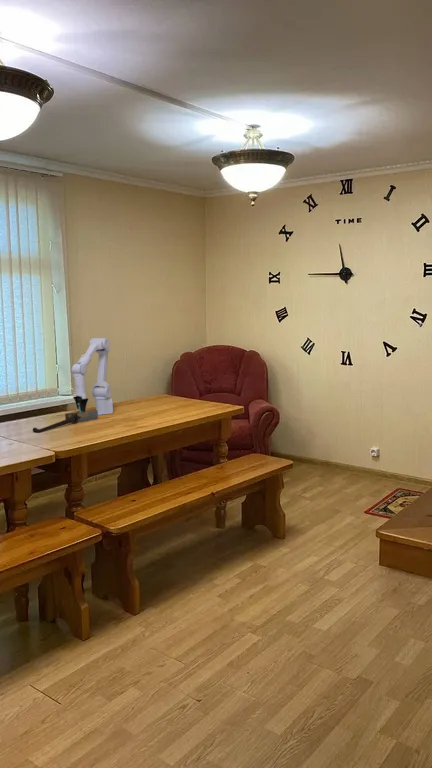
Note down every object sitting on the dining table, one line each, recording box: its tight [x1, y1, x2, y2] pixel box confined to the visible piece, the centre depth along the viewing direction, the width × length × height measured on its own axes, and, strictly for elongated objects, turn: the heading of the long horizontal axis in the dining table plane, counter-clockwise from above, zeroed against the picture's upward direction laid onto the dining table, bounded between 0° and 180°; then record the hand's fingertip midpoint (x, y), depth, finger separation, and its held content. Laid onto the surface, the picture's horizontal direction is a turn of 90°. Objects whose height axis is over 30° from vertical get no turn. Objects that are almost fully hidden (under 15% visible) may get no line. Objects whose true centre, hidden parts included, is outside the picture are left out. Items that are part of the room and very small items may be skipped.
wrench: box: [32, 414, 81, 434], centre depth 330 cm, size 5×5×30 cm
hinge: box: [64, 409, 99, 423], centre depth 345 cm, size 18×6×5 cm, turn 117°
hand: (81, 410), depth 344 cm, fingers open, 7 cm apart
